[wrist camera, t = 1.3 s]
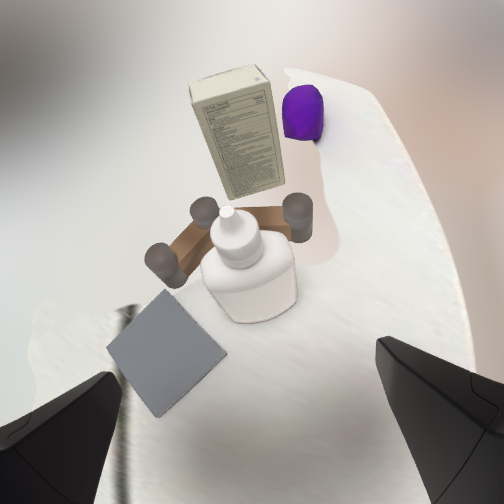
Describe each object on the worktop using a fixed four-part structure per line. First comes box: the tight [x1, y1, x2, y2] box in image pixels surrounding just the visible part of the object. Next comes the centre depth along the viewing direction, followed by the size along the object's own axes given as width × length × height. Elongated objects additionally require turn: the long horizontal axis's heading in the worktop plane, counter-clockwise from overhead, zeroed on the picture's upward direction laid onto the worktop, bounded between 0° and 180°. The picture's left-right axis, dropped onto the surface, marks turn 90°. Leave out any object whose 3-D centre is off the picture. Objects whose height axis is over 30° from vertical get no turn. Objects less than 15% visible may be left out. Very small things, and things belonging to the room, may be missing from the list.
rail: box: [145, 193, 313, 289], centre depth 24 cm, size 13×8×4 cm, turn 136°
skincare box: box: [188, 64, 285, 200], centre depth 24 cm, size 6×4×12 cm
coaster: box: [106, 289, 227, 418], centre depth 22 cm, size 8×8×1 cm
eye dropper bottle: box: [200, 205, 297, 323], centre depth 18 cm, size 4×6×12 cm
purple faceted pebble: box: [282, 85, 324, 141], centre depth 32 cm, size 5×5×15 cm
